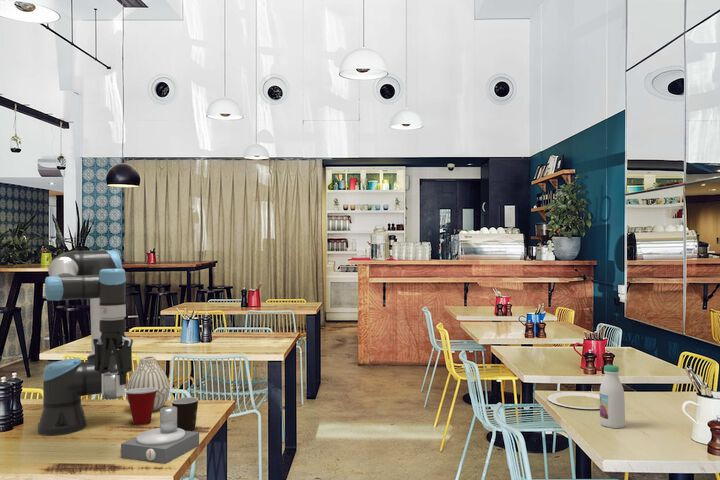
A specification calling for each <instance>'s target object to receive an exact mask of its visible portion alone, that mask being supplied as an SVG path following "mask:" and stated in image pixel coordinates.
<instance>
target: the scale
mask: <svg viewBox="0 0 720 480" xmlns="http://www.w3.org/2000/svg"><path fill="white" fill-rule="evenodd" d="M199 446H200V431H184V430H183V429H180V428H177V431H176V432H174V433H169V434H163V433H160V427H155V428H152V429H148V430H145V431H142V432H140V433H139V434H137V435H136V436H135V437H133V438H130V439H129V440H126V441H124V442H121V443H120V458H126V459H132V460H140V461H146V462H153V463H161V464H167V463H169V462H171V461H172V460H175V459H177V458H178V457H180V456H182V455H184V454H185V453H187V452H190V451H191V450H193V449H195V448H197V447H199Z"/></svg>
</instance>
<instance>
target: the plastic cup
mask: <svg viewBox="0 0 720 480" xmlns="http://www.w3.org/2000/svg"><path fill="white" fill-rule="evenodd" d="M157 390H158V388H137V389H131V390H127V391H126V390H125V394H126V393H127V395H128V400H129V403H128V404H129V409H130V413H131V419H132V423H133V425H135V426H143V425H144V426H145V425H148V424H150V423H151V421H152V416H153V413H154V411H153V406H154V399H155V395H156V392H157Z"/></svg>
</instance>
